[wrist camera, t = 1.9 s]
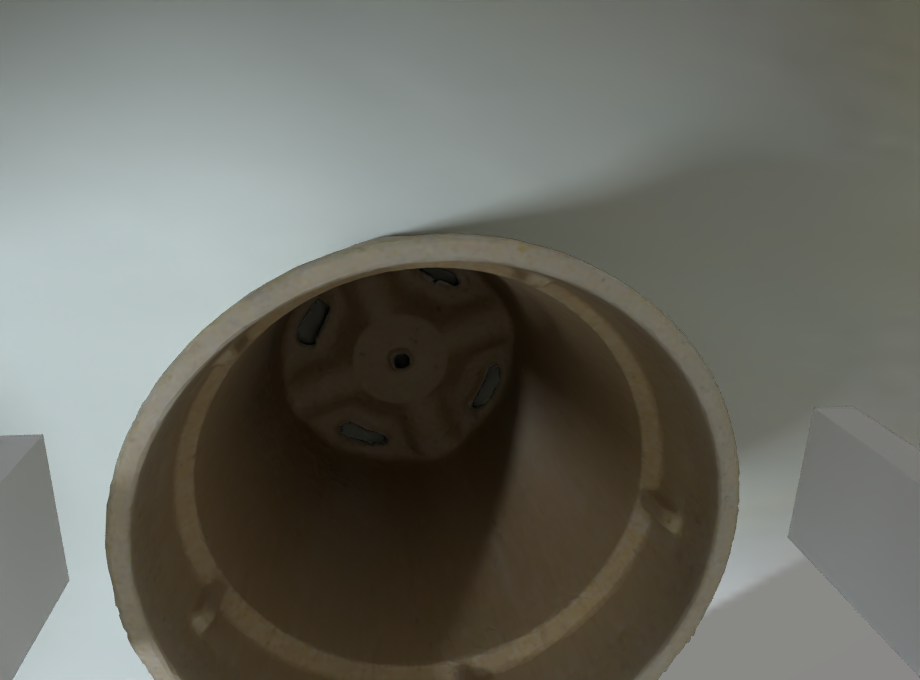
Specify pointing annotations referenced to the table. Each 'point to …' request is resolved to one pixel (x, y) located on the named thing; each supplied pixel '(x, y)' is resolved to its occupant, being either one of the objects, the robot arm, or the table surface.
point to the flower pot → (426, 478)
